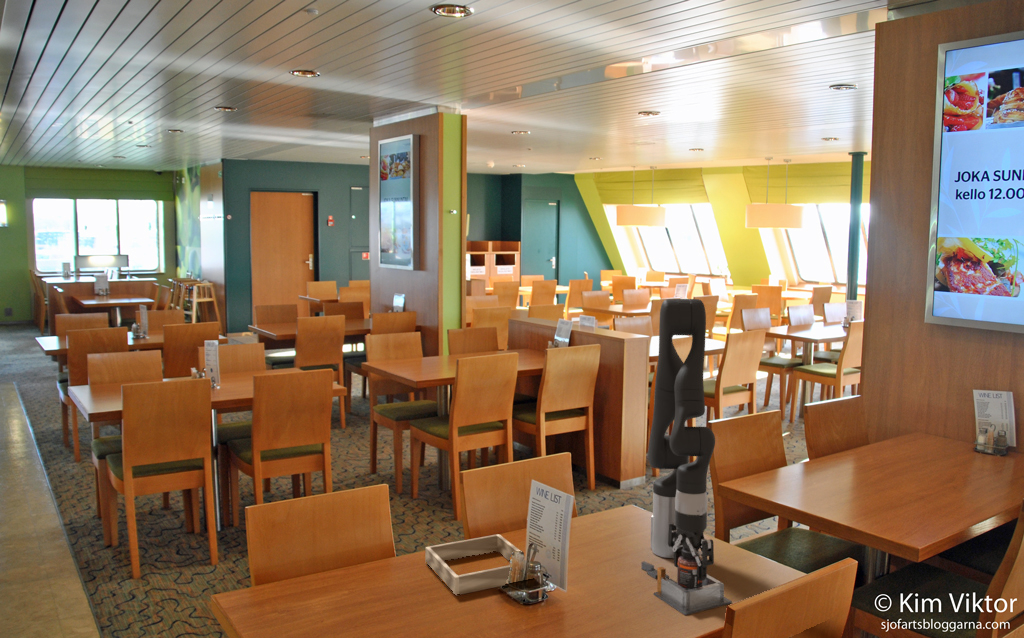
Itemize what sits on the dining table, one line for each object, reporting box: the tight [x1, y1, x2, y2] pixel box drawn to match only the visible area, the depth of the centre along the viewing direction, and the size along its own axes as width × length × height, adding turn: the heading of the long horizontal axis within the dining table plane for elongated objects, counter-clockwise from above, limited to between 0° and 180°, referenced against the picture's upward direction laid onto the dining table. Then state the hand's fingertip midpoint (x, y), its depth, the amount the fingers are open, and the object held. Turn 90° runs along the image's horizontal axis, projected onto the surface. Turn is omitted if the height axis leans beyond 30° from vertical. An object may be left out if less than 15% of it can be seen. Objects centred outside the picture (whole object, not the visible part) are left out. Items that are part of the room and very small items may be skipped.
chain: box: [641, 560, 677, 584], centre depth 196 cm, size 14×2×2 cm, turn 26°
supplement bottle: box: [676, 548, 702, 590], centre depth 184 cm, size 6×6×11 cm
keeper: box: [653, 566, 733, 616], centre depth 184 cm, size 12×14×6 cm
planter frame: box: [424, 533, 521, 596], centre depth 200 cm, size 22×22×4 cm
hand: (689, 573), depth 184 cm, fingers open, 8 cm apart
